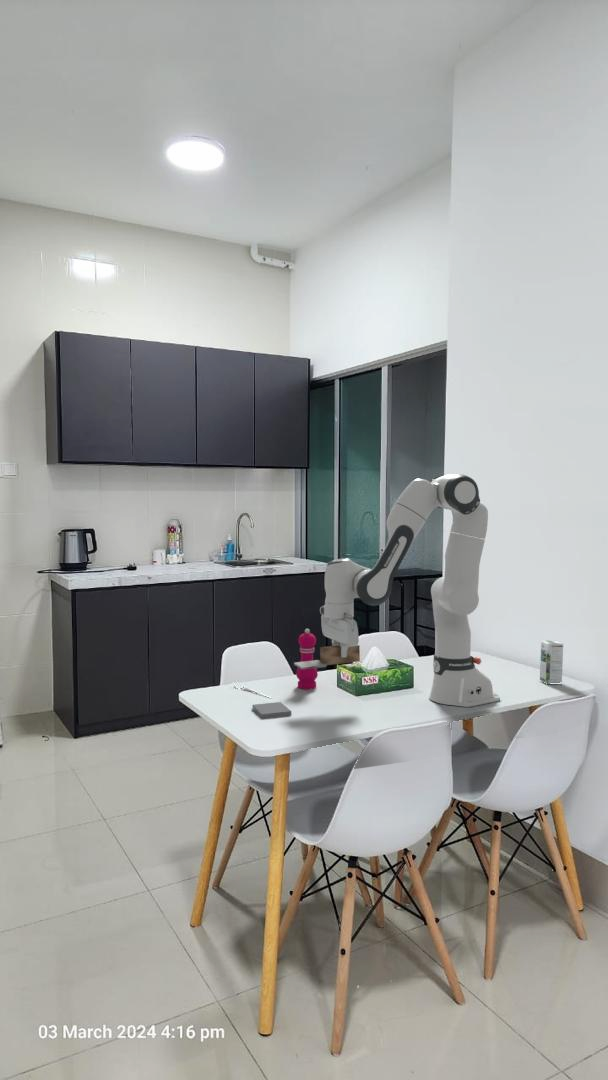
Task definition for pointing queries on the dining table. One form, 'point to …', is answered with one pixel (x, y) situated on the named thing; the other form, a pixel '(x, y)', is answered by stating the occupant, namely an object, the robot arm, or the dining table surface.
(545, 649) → the syrup box
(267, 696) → the fork
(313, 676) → the pepper mill
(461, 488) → the robot arm
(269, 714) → the tile
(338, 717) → the dining table surface
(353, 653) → the wood block on plate
